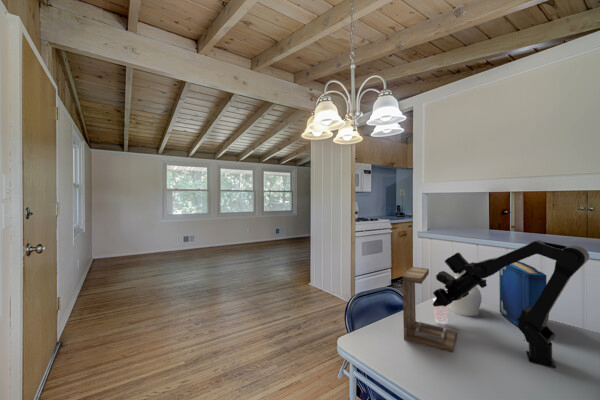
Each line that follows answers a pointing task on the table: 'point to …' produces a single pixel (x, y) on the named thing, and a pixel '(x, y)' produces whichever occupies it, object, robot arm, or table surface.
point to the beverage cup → (441, 314)
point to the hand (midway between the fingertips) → (437, 303)
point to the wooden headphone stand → (419, 330)
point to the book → (519, 289)
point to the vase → (467, 302)
